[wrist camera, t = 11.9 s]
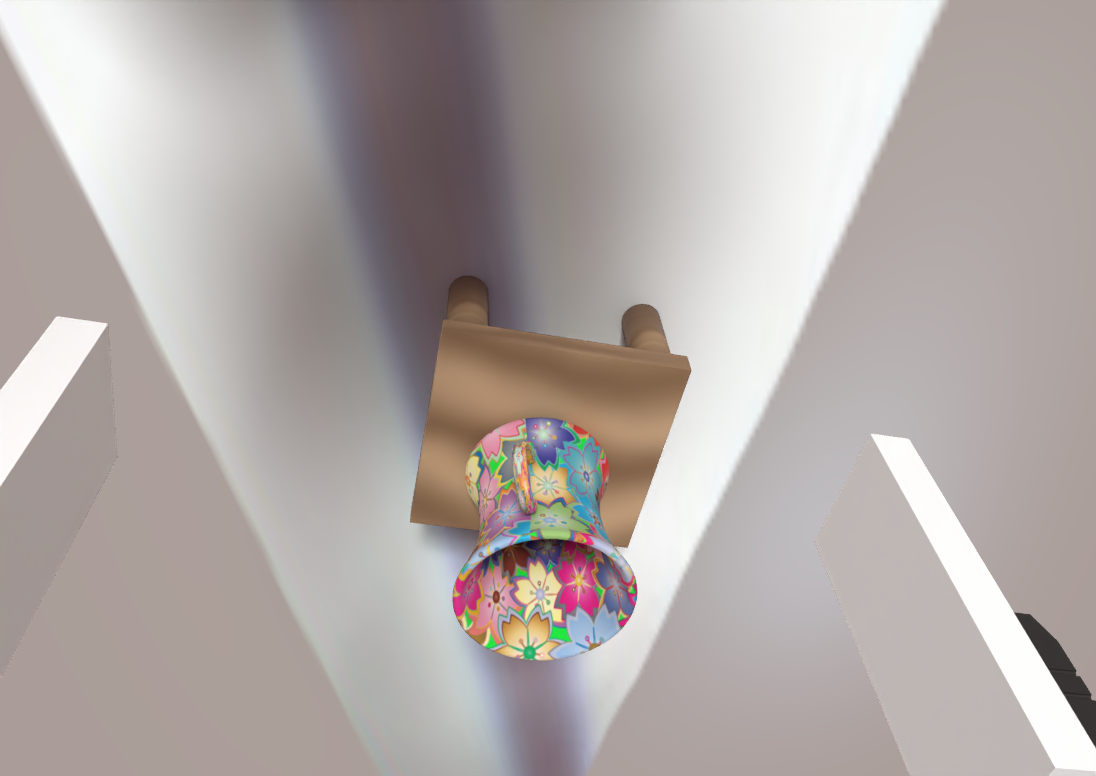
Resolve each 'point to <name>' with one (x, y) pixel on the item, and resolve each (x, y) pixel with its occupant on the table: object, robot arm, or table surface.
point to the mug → (541, 545)
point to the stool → (546, 404)
